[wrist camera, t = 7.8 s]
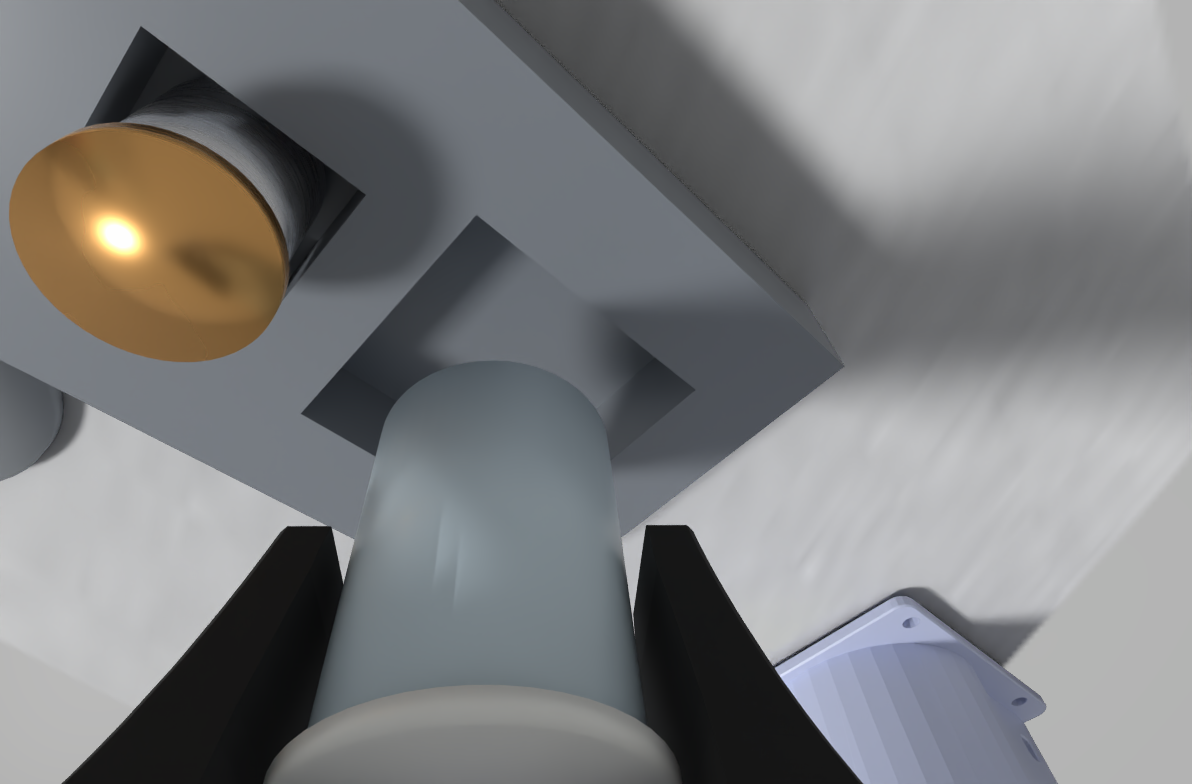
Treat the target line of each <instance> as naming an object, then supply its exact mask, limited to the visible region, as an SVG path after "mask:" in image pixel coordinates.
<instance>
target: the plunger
mask: <svg viewBox="0 0 1192 784" xmlns="http://www.w3.org/2000/svg"><path fill="white" fill-rule="evenodd" d="M324 195H325V171H324V166H323V162H322V161H320V160H319V159H318V158H316V157H315V156H314V155H312V154H311V153H310V152H308V151H307V150H306V149H304V148H303V147H302V146H300V145H299V144H298V143H296V142H295V141H294V140H292V139H291V138H290V137H288V136H287V135H286V134H284V133H283V132H282V131H280V130H279V129H278V128H276V127H275V126H274V125H272V124H271V123H270V122H268V121H267V120H266V119H264V118H263V117H262V116H260V115H259V114H258V113H256V112H255V111H254V110H252V109H251V108H250V107H248V106H247V105H246V104H244V103H243V102H242V101H240V100H239V99H238V98H236V97H235V96H234V95H232V94H231V93H230V92H228V91H227V90H226V89H224V88H223V87H222V86H220V85H219V84H218V83H216V82H215V81H214V80H212V79H211V78H210V77H206V78H197V79H193V80H189V81H185V82H183V83H181V84H179V85H176V86H174V87H173V88H171V89H170V90H168V91H167V92H165V93H164V94H162V95H160V96H159V97H157V98H156V99H154V100H153V101H151V102H150V103H148V104H147V105H145V106H144V107H142V108H141V109H139V110H137V111H136V112H134V113H133V114H131V115H130V116H128V117H127V118H125V119H124V120H122V121H121V122H112V123H104V124H96V125H92V126H88V127H84V128H80V129H78V130H76V131H73V132H71V133H69V134H67V135H65V136H63V137H61V138H60V139H58V140H57V141H55V142H53V143H52V144H50V145H48V146H47V147H45V148H44V149H42V150H41V151H39V152H38V153H37V154H35V155H34V156H33V157H32V158H31V159H30V160H29V161H28V162H27V163H26V164H25V166H24V167H23V169H22V170H21V172H20V173H19V175H18V177H17V179H16V181H15V184H14V186H13V189H12V193H11V198H10V203H9V223H10V229H11V235H12V239H13V242H14V245H15V248H16V251H17V253H18V256H19V258H20V260H21V262H22V264H23V266H24V268H25V269H26V271H27V273H28V274H29V276H30V278H31V279H32V281H33V282H34V283H35V285H36V286H37V287H38V289H39V290H40V291H41V293H42V294H43V295H44V296H45V297H46V298H47V299H48V300H49V301H50V302H51V303H52V304H53V305H54V307H56V308H57V309H58V310H59V311H60V312H61V313H62V314H63V315H65V316H66V317H67V318H68V319H69V320H71V321H72V322H73V323H75V324H76V325H78V326H79V327H80V328H82V329H83V330H85V331H86V332H88V333H90V334H91V335H93V336H95V337H96V338H98V339H100V340H102V341H104V342H106V343H108V344H110V345H112V346H114V347H117V348H119V349H122V350H125V351H127V352H130V353H133V354H136V355H140V356H143V357H147V358H152V359H157V360H162V361H172V362H200V361H209V360H213V359H217V358H221V357H225V356H227V355H230V354H233V353H235V352H237V351H239V350H241V349H243V348H245V347H246V346H248V345H249V344H251V343H252V342H253V341H254V340H256V339H257V338H258V337H259V336H260V335H261V334H262V333H263V332H264V331H265V330H266V328H267V327H268V325H269V324H270V322H271V321H272V319H273V318H274V316H275V314H276V312H277V311H278V309H279V307H280V305H281V303H282V301H283V298H284V296H285V294H286V290H287V286H288V282H289V271H290V265H289V262H290V260H291V258H292V257H293V255H294V253H295V252H296V250H297V248H298V247H299V245H300V243H301V242H302V240H303V238H304V236H305V235H306V233H307V231H308V230H309V228H310V226H311V225H312V223H313V221H314V220H315V218H316V216H317V215H318V213H319V211H320V208H321V206H322V203H323V199H324Z"/></svg>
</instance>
